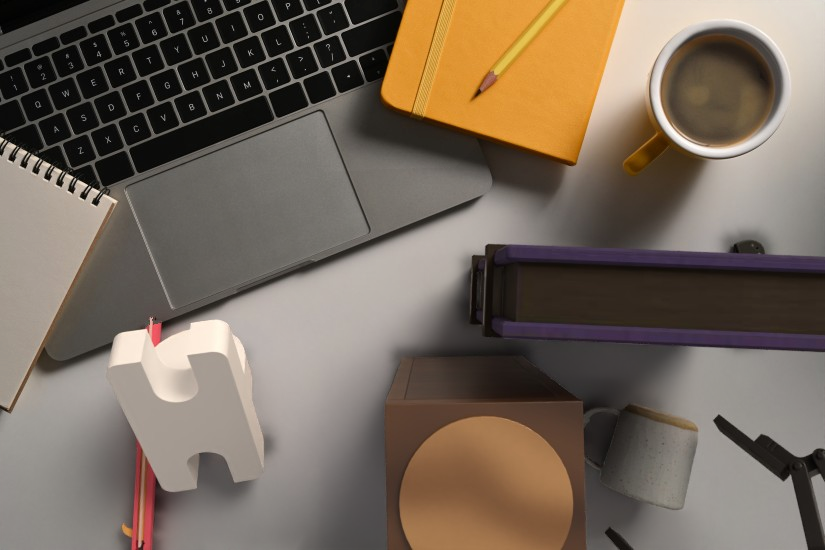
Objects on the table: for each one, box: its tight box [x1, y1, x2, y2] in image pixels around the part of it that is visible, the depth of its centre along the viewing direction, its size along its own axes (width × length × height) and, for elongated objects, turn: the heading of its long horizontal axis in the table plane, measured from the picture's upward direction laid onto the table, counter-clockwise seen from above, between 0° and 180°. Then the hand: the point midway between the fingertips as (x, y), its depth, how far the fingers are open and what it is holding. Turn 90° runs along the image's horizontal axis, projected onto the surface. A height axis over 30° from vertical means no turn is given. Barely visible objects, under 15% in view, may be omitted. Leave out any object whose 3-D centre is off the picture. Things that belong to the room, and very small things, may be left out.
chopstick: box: [121, 316, 162, 550], centre depth 69 cm, size 24×2×5 cm
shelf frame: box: [385, 355, 577, 401], centre depth 56 cm, size 12×12×26 cm
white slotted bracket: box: [105, 319, 265, 493], centre depth 65 cm, size 10×18×11 cm
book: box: [468, 243, 825, 353], centre depth 54 cm, size 24×6×30 cm, turn 88°
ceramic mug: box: [583, 403, 699, 511], centre depth 65 cm, size 11×8×8 cm
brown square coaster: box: [383, 396, 588, 550], centre depth 42 cm, size 12×12×2 cm
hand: (665, 477), depth 61 cm, fingers open, 13 cm apart
